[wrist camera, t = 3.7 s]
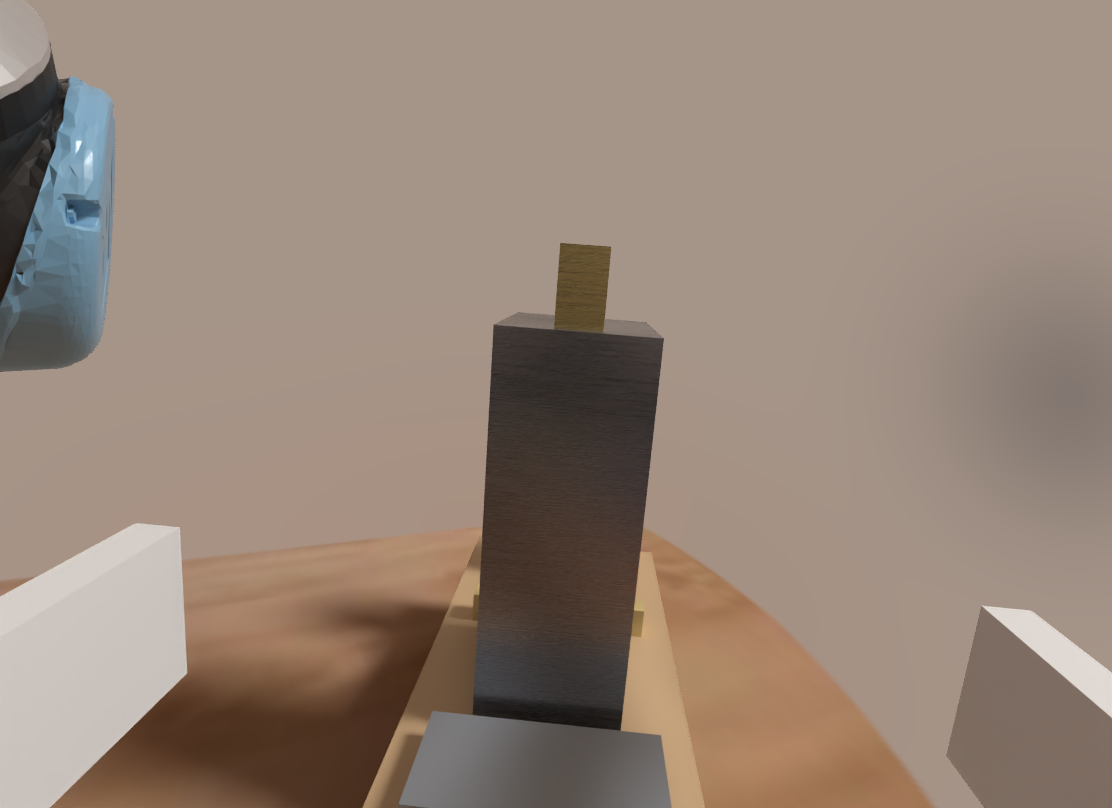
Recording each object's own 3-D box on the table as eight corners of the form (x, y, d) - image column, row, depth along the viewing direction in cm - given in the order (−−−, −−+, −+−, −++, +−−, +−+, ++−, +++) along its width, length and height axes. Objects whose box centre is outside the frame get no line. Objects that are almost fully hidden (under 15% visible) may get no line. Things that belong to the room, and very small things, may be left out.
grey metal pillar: (472, 730, 17) (498, 237, 14) (498, 629, 22) (522, 246, 19) (618, 746, 17) (673, 250, 14) (613, 640, 22) (653, 256, 19)
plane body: (311, 1087, 13) (308, 584, 10) (475, 614, 30) (487, 389, 28) (713, 1139, 12) (799, 632, 10) (642, 631, 30) (668, 404, 28)
